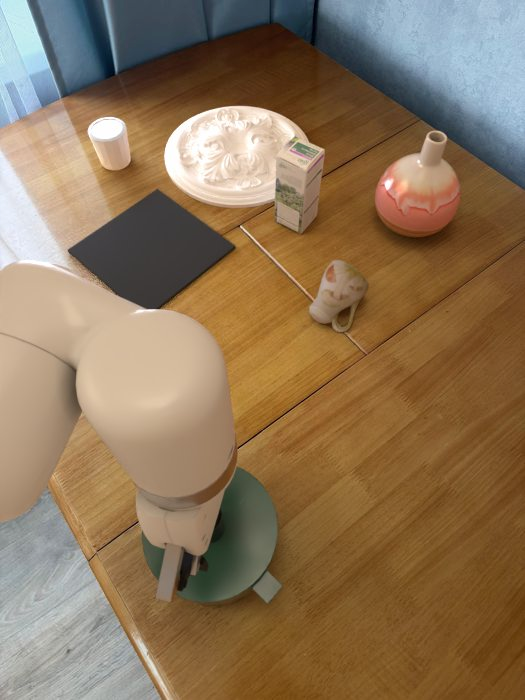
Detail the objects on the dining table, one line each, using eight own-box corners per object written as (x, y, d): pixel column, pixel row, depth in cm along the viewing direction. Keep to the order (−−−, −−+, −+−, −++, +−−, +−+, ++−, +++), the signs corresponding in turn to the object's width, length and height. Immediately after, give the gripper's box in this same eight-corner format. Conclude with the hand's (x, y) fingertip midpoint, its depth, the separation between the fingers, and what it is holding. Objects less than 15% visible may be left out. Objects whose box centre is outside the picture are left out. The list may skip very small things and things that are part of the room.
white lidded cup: (90, 159, 101) (80, 127, 95) (121, 143, 103) (112, 111, 97) (110, 178, 98) (101, 146, 92) (141, 161, 101) (133, 129, 95)
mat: (145, 319, 82) (145, 317, 82) (68, 252, 89) (67, 249, 89) (235, 248, 90) (235, 245, 89) (157, 190, 97) (157, 188, 96)
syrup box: (318, 215, 94) (327, 147, 81) (300, 236, 91) (306, 168, 79) (290, 202, 95) (295, 133, 83) (272, 222, 93) (274, 154, 80)
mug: (294, 319, 83) (306, 259, 78) (331, 305, 89) (344, 249, 84) (331, 339, 79) (346, 278, 74) (367, 324, 85) (383, 266, 80)
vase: (380, 186, 97) (402, 99, 82) (454, 206, 95) (491, 119, 80) (360, 238, 91) (380, 154, 76) (438, 261, 88) (475, 178, 73)
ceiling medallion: (262, 230, 92) (262, 217, 89) (135, 171, 99) (131, 157, 97) (336, 139, 104) (338, 125, 101) (218, 93, 111) (217, 79, 109)
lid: (209, 637, 52) (203, 634, 47) (115, 533, 57) (99, 518, 52) (305, 526, 58) (310, 511, 52) (212, 440, 63) (207, 417, 57)
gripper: (168, 333, 40) (194, 421, 55) (79, 569, 32) (138, 599, 47) (264, 352, 40) (264, 436, 54) (198, 600, 31) (220, 620, 46)
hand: (206, 511), depth 50 cm, fingers open, 9 cm apart
